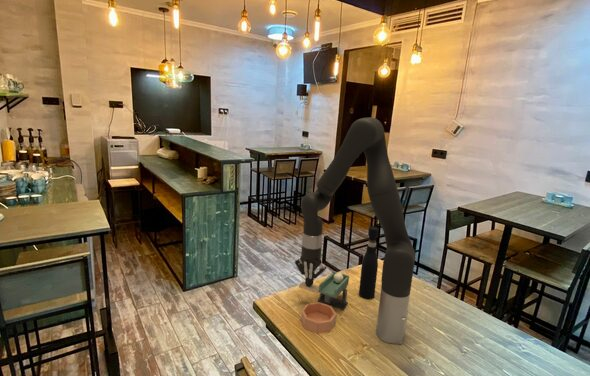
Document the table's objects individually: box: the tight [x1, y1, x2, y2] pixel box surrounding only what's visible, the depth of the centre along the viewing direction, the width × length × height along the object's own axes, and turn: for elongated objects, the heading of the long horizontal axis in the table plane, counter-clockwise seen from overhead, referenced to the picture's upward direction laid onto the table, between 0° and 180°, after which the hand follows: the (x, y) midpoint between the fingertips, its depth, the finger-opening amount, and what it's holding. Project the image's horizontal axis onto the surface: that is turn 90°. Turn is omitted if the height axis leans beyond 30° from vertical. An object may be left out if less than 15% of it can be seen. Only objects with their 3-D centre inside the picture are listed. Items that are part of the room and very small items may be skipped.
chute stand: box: [317, 288, 349, 311], centre depth 126 cm, size 11×5×7 cm, turn 61°
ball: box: [333, 272, 343, 283], centre depth 128 cm, size 4×4×4 cm
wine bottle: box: [358, 225, 380, 300], centre depth 129 cm, size 6×6×30 cm
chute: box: [298, 270, 350, 298], centre depth 126 cm, size 15×15×6 cm
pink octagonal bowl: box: [300, 301, 337, 335], centre depth 114 cm, size 12×12×4 cm
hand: (308, 285), depth 123 cm, fingers closed
